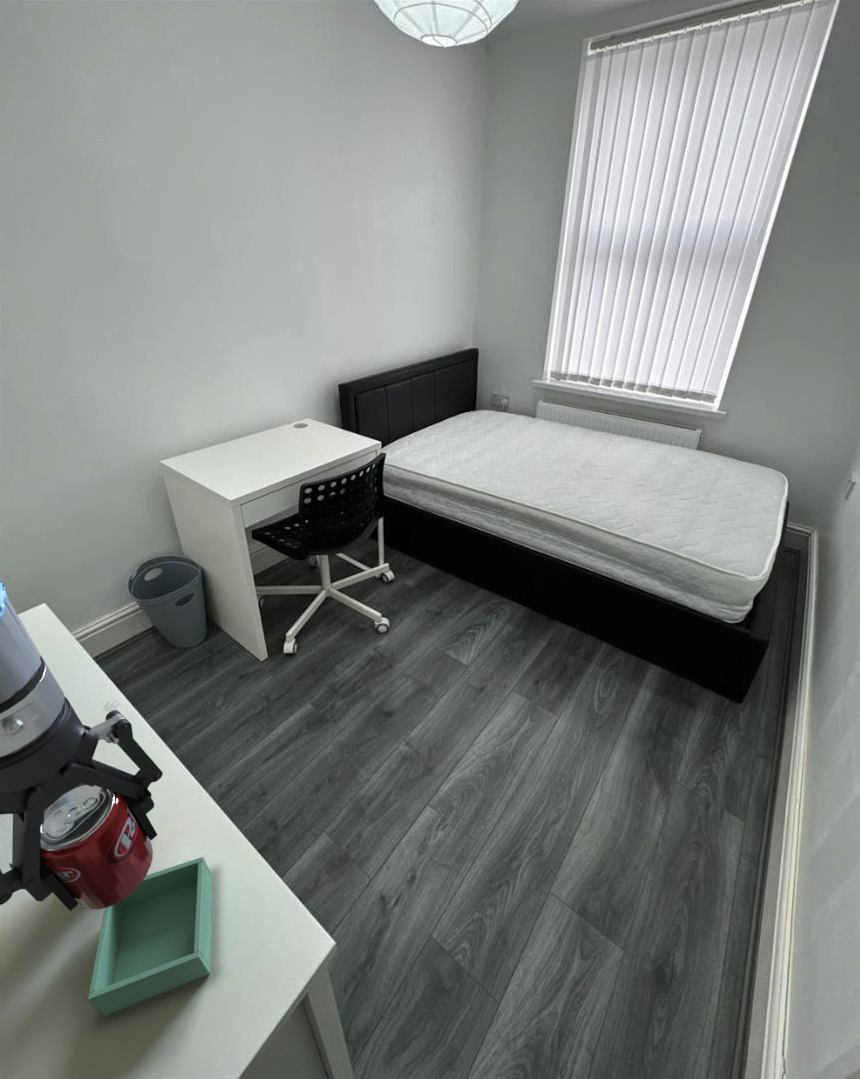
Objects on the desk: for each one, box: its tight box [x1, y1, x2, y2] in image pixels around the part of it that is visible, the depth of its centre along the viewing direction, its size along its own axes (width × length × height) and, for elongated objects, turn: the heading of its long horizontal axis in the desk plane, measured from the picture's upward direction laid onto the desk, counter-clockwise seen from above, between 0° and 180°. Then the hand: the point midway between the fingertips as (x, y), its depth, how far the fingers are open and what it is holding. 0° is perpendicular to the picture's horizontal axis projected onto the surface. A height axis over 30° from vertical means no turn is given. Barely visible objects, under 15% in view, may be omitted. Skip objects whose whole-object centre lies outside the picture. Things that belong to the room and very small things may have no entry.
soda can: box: [40, 783, 154, 910], centre depth 48 cm, size 7×7×12 cm
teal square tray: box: [87, 856, 213, 1016], centre depth 59 cm, size 11×11×6 cm
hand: (110, 862), depth 50 cm, fingers closed on soda can, 7 cm apart
